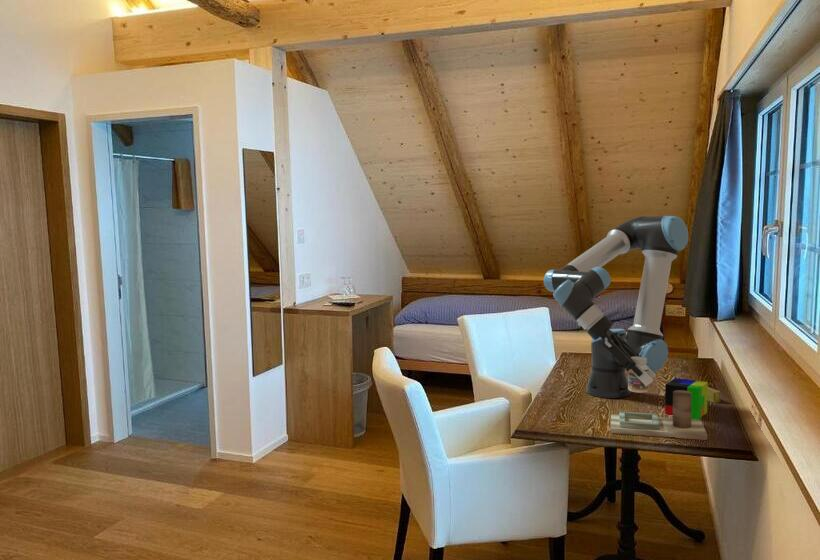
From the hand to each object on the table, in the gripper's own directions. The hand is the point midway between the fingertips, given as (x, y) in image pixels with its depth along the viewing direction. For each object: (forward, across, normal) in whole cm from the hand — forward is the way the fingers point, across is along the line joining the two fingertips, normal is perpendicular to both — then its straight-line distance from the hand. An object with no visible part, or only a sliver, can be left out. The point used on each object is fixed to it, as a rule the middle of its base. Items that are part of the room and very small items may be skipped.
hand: (651, 380), depth 190 cm
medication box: (+20, -42, -2) cm, 46 cm away
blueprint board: (+12, -1, -9) cm, 15 cm away
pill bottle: (0, 0, -5) cm, 5 cm away
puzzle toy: (+16, -21, -5) cm, 27 cm away
